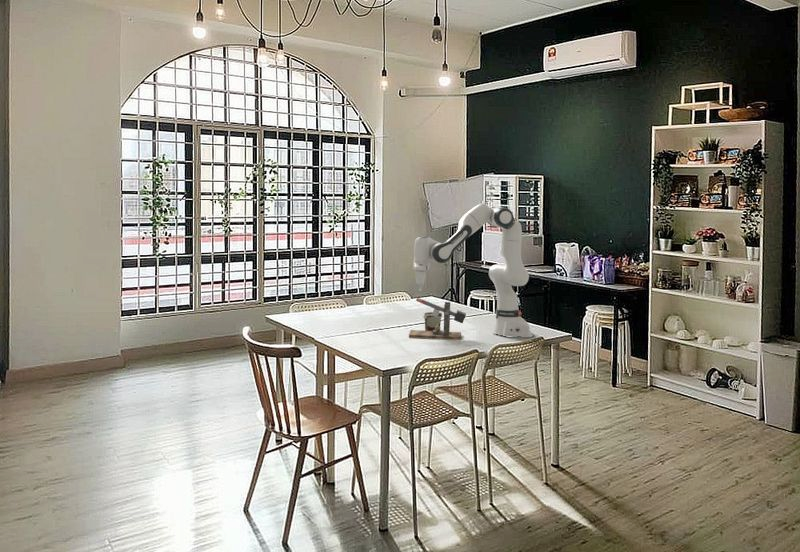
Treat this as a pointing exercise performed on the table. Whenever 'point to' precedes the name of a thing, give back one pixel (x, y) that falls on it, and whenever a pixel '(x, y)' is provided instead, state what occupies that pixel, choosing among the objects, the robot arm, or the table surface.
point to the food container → (431, 321)
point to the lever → (458, 315)
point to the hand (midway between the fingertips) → (420, 291)
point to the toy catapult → (438, 329)
